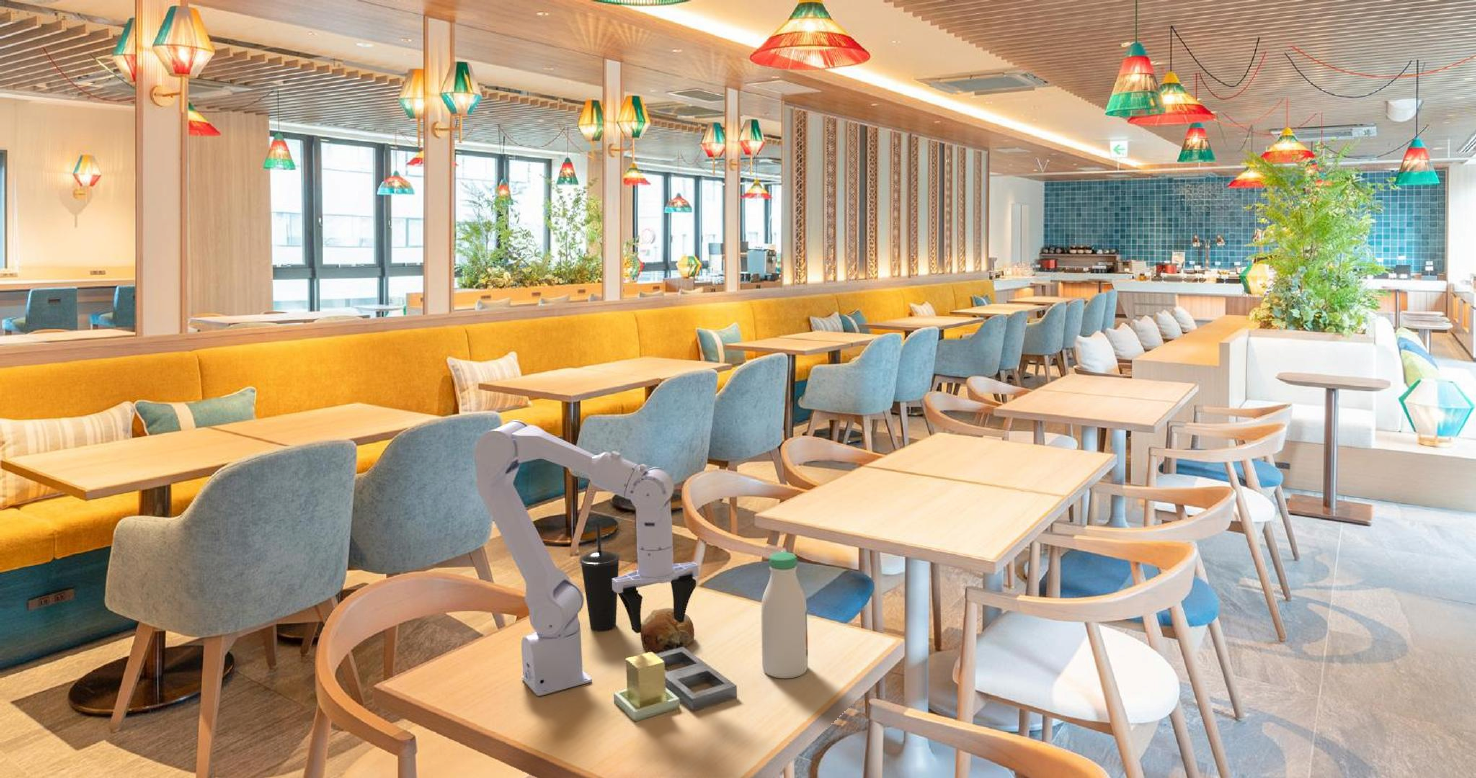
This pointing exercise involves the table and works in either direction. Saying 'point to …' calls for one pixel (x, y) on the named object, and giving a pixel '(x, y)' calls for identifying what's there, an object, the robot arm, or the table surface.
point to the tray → (645, 712)
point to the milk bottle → (784, 620)
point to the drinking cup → (600, 586)
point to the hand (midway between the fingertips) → (658, 625)
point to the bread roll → (665, 631)
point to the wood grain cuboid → (645, 680)
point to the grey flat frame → (695, 680)
